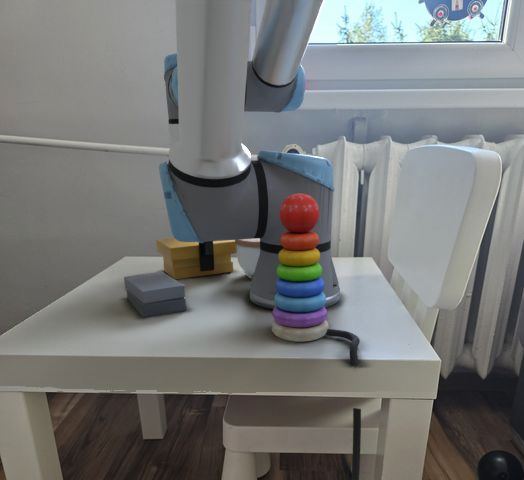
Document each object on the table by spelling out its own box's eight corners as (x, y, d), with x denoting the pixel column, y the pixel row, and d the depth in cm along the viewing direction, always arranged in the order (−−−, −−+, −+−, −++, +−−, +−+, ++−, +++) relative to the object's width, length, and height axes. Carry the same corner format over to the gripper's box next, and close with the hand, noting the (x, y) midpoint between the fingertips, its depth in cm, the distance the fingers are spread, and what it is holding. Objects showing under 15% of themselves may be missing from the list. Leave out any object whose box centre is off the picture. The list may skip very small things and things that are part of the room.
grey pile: (187, 310, 80) (185, 286, 78) (142, 317, 77) (139, 292, 75) (167, 292, 89) (165, 271, 87) (126, 298, 86) (123, 276, 84)
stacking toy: (335, 327, 71) (341, 191, 64) (318, 347, 65) (322, 198, 57) (284, 320, 74) (284, 190, 67) (262, 339, 68) (260, 196, 60)
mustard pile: (219, 264, 109) (218, 245, 108) (233, 271, 103) (232, 252, 101) (163, 271, 104) (161, 252, 102) (174, 279, 97) (172, 259, 96)
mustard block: (171, 260, 95) (170, 248, 94) (157, 251, 103) (156, 239, 102) (238, 252, 101) (238, 241, 100) (219, 244, 109) (219, 233, 108)
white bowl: (251, 267, 106) (250, 222, 102) (298, 272, 101) (298, 225, 98) (226, 279, 97) (224, 230, 93) (276, 285, 92) (276, 234, 89)
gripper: (232, 149, 86) (236, 274, 95) (189, 148, 105) (196, 252, 114) (191, 150, 83) (199, 279, 92) (155, 148, 102) (164, 256, 111)
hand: (198, 264), depth 103 cm, fingers open, 10 cm apart
